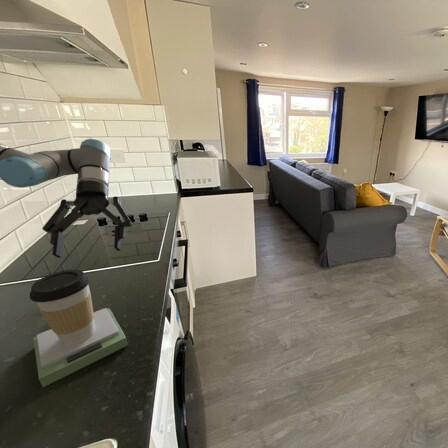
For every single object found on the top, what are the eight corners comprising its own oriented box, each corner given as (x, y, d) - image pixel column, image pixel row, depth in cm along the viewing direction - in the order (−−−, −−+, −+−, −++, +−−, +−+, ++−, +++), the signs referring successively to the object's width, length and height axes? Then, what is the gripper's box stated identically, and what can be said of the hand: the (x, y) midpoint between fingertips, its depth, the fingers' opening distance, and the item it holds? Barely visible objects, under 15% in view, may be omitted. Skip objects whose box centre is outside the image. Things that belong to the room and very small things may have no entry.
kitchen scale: (36, 345, 62) (31, 335, 61) (111, 315, 72) (108, 305, 71) (42, 387, 52) (37, 376, 51) (128, 345, 62) (125, 334, 61)
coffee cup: (100, 314, 67) (84, 263, 62) (108, 335, 61) (91, 280, 55) (49, 334, 61) (26, 279, 55) (52, 360, 54) (26, 300, 49)
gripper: (143, 190, 86) (144, 250, 78) (48, 195, 78) (38, 263, 70) (137, 177, 79) (136, 241, 71) (32, 180, 71) (19, 254, 63)
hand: (88, 252), depth 71 cm, fingers open, 13 cm apart
